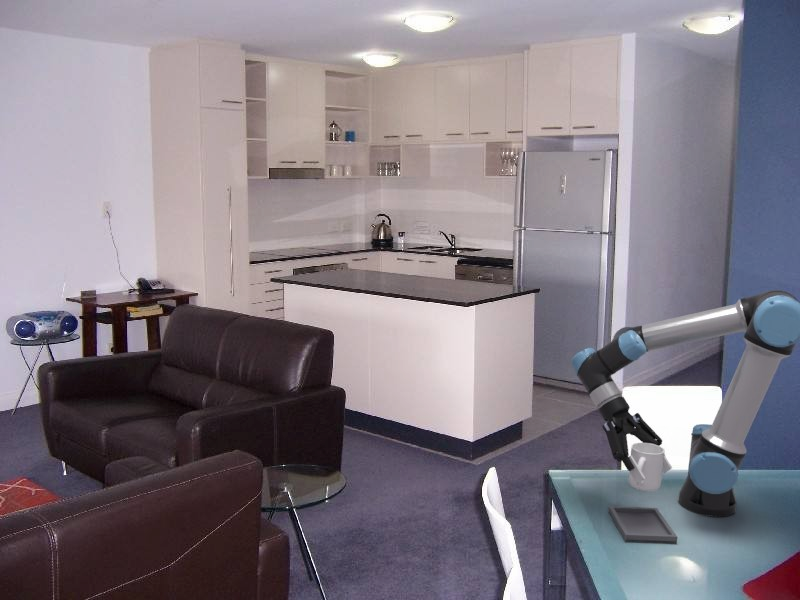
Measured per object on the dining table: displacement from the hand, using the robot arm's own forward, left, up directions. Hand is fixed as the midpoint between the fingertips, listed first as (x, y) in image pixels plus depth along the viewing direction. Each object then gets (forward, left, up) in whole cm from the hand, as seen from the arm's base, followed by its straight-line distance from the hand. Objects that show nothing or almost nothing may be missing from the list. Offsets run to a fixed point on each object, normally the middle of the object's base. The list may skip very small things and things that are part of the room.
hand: (654, 475), depth 209 cm
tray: (+2, -2, -15) cm, 16 cm away
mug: (+2, -2, -5) cm, 6 cm away
